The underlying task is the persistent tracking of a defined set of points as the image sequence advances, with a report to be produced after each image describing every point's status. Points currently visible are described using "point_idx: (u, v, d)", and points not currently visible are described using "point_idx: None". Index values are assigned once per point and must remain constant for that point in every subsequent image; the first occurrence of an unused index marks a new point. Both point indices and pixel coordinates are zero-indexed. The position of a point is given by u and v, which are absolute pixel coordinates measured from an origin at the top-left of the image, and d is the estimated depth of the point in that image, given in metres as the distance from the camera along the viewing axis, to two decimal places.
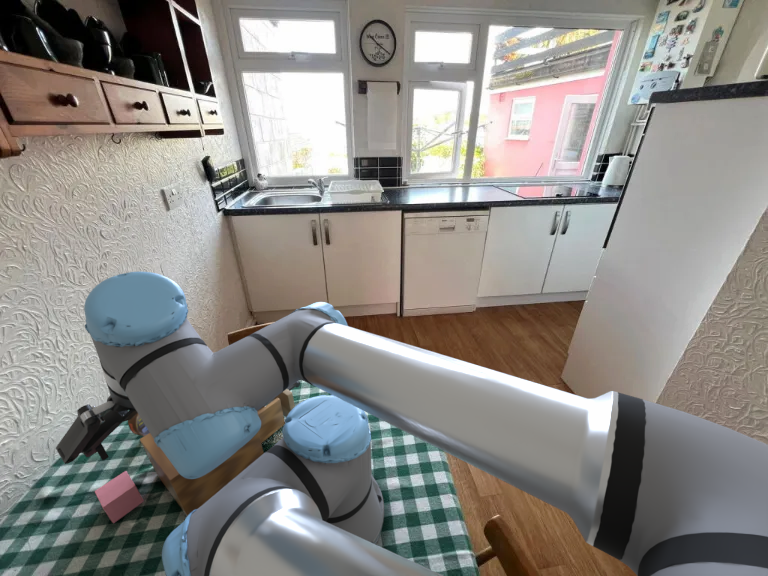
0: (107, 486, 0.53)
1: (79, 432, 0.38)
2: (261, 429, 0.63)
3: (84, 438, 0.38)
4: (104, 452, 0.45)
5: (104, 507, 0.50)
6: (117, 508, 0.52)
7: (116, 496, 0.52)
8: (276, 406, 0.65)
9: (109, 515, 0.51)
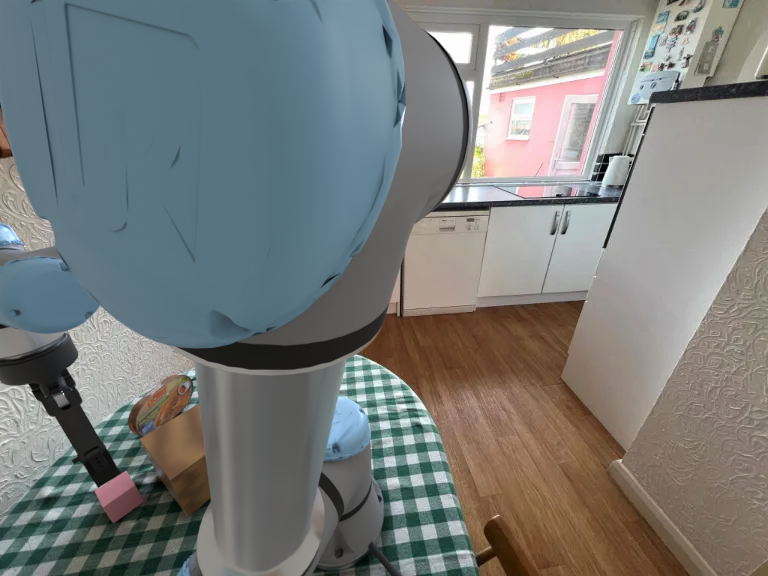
0: (107, 486, 0.53)
1: (74, 415, 0.40)
2: None
3: (84, 413, 0.41)
4: None
5: (104, 507, 0.50)
6: (117, 508, 0.52)
7: (116, 496, 0.52)
8: None
9: (109, 515, 0.51)
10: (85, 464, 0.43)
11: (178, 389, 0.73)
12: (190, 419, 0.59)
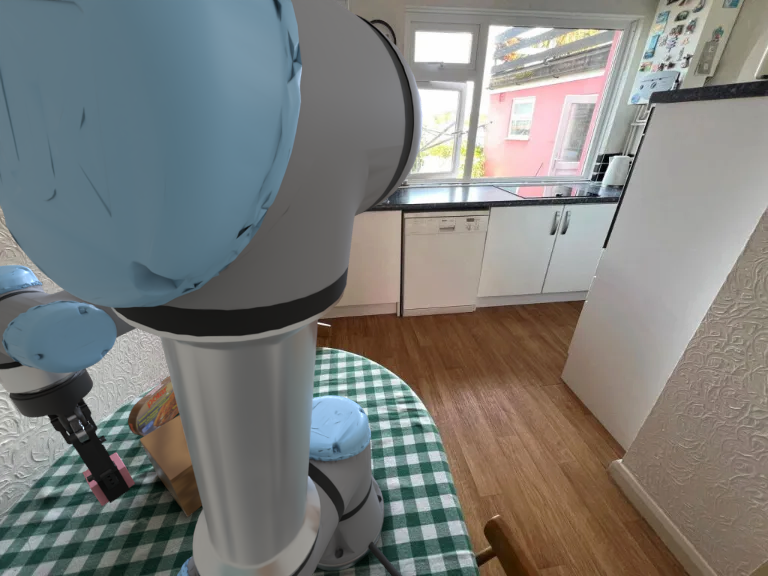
0: None
1: (93, 447, 0.44)
2: None
3: (101, 443, 0.45)
4: None
5: (92, 488, 0.48)
6: None
7: None
8: None
9: (97, 497, 0.49)
10: (98, 482, 0.48)
11: None
12: None
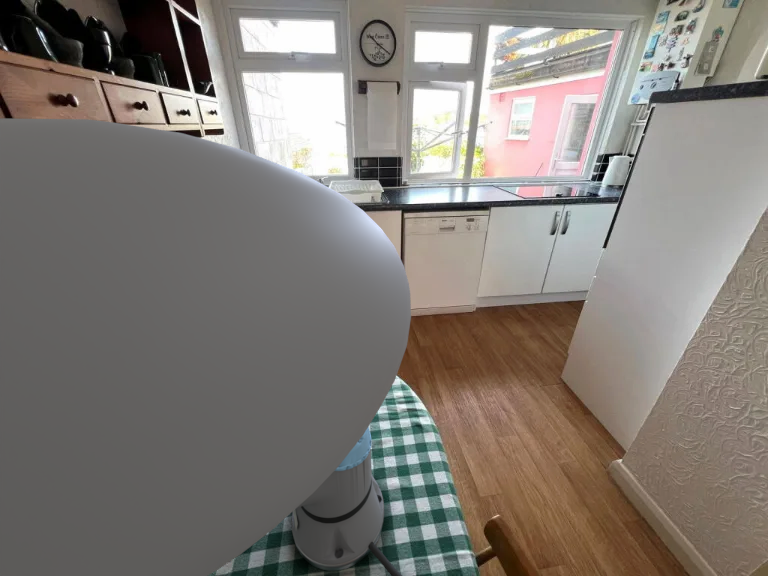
0: None
1: None
2: None
3: None
4: None
5: None
6: None
7: None
8: None
9: None
10: None
11: None
12: None
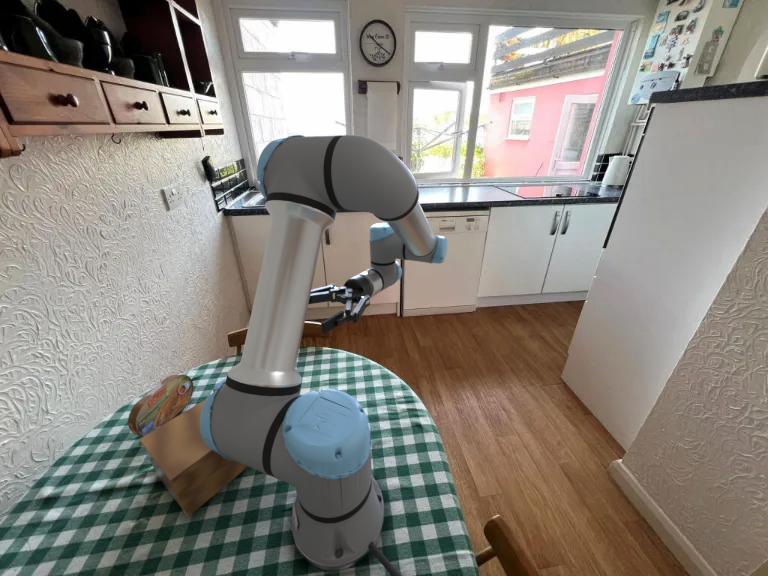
0: None
1: (364, 307, 0.78)
2: None
3: (363, 310, 0.78)
4: None
5: None
6: None
7: None
8: None
9: None
10: (339, 315, 0.71)
11: (179, 388, 0.73)
12: (190, 419, 0.59)
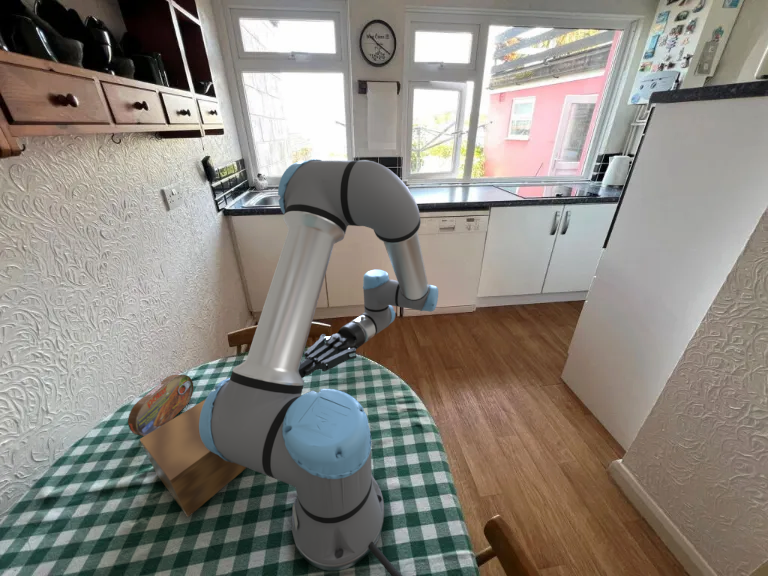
0: None
1: (344, 359, 0.80)
2: None
3: (342, 361, 0.81)
4: None
5: None
6: None
7: None
8: None
9: None
10: (308, 364, 0.76)
11: (178, 388, 0.73)
12: (190, 419, 0.59)
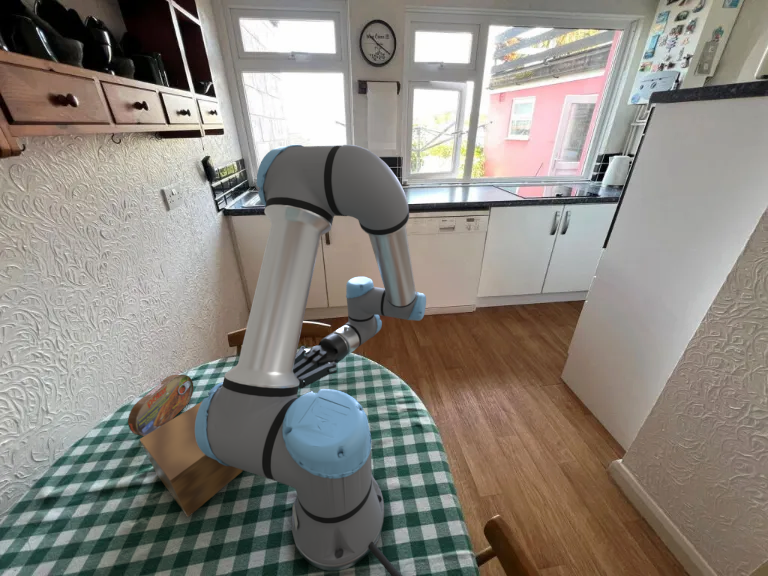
0: None
1: (323, 374, 0.75)
2: None
3: (322, 377, 0.75)
4: None
5: None
6: None
7: None
8: None
9: None
10: None
11: (178, 388, 0.73)
12: (190, 419, 0.59)
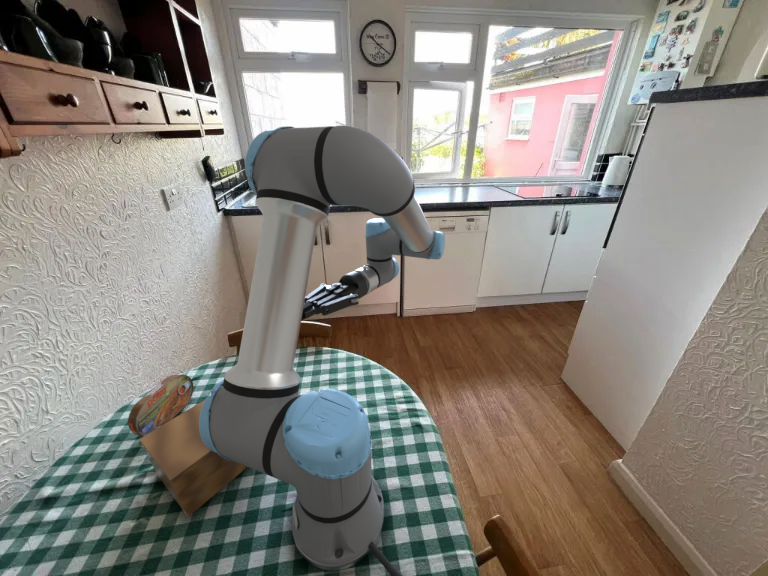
0: None
1: (345, 304, 0.75)
2: None
3: (344, 307, 0.76)
4: None
5: None
6: None
7: None
8: None
9: None
10: (307, 307, 0.71)
11: (178, 388, 0.73)
12: (190, 419, 0.59)
